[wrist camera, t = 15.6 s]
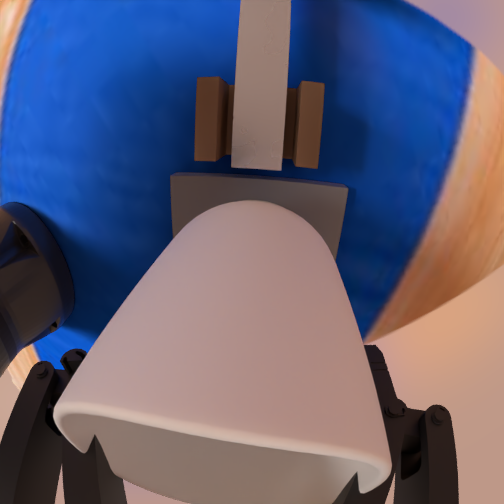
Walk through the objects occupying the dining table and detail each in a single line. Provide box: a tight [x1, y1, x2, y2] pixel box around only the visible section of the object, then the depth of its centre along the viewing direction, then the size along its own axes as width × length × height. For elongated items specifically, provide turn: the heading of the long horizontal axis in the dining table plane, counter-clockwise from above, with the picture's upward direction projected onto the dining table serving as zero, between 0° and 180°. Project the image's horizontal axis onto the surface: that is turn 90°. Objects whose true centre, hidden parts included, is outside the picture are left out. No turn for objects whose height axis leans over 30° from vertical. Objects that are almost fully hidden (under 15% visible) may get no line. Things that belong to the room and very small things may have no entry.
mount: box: [194, 77, 325, 169], centre depth 13 cm, size 6×4×5 cm, turn 87°
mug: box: [53, 201, 392, 504], centre depth 10 cm, size 12×8×10 cm
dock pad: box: [170, 172, 348, 260], centre depth 19 cm, size 11×11×1 cm
